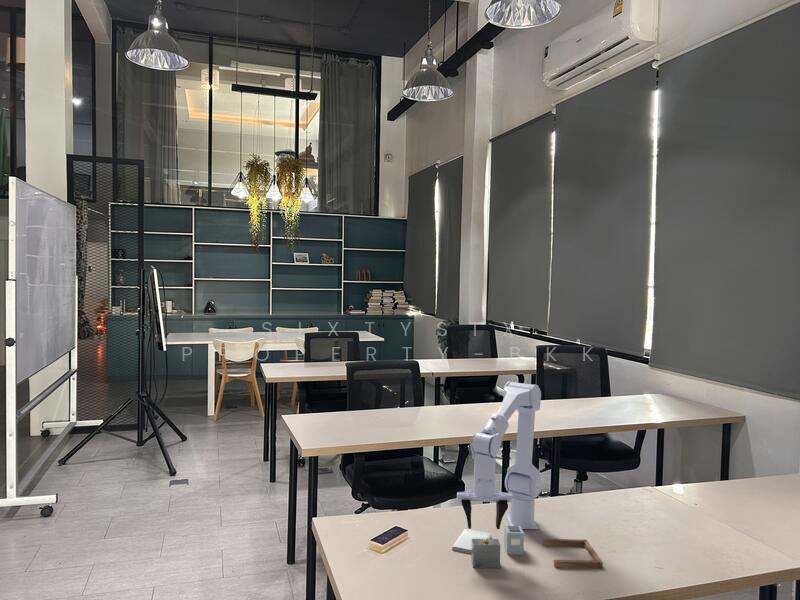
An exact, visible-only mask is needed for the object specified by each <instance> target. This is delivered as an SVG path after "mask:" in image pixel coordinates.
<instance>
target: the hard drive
mask: <svg viewBox="0 0 800 600" xmlns="http://www.w3.org/2000/svg"><path fill="white" fill-rule="evenodd" d="M472 539H492V533H489V532H486V531H478V530H474V529H469V528H464V529H463V530H462V532H461V533H460V535H459V537H458V538H457V539H456V541H455V542H454V543H453V545H452V546H451V550H452V551H455V552H459V553H464V552H465V554H470V555H471V551H472Z"/></svg>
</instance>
